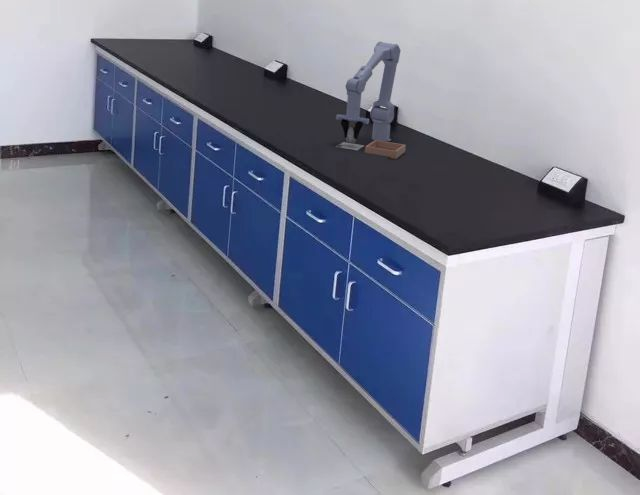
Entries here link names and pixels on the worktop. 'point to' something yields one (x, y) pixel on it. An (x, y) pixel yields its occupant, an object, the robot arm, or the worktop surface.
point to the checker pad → (350, 146)
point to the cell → (350, 134)
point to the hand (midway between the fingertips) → (351, 137)
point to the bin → (385, 152)
